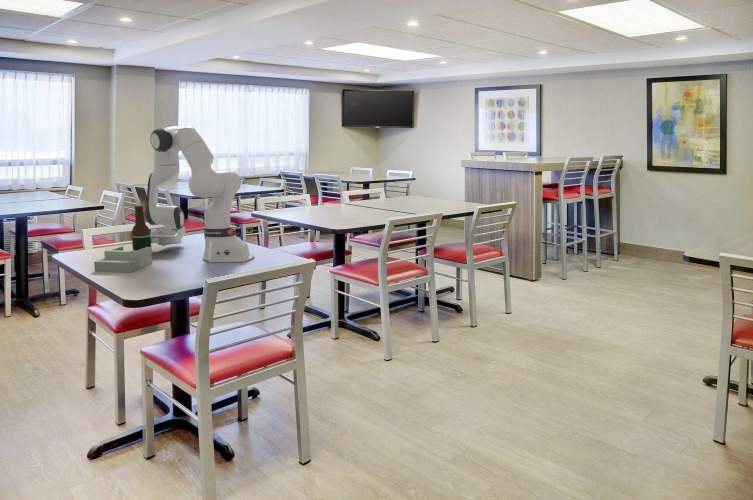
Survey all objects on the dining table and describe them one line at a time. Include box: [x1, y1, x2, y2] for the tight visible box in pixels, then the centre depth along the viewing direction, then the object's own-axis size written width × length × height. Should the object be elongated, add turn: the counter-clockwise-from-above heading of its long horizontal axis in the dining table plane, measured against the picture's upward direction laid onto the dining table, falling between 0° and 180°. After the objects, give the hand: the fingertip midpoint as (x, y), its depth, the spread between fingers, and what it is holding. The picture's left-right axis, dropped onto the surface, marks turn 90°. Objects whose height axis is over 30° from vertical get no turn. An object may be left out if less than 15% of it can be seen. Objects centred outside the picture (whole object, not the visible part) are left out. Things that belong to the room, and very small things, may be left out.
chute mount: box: [93, 245, 153, 273], centre depth 254 cm, size 16×18×7 cm
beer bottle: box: [131, 205, 153, 255], centre depth 266 cm, size 8×8×24 cm
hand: (149, 241), depth 274 cm, fingers closed
